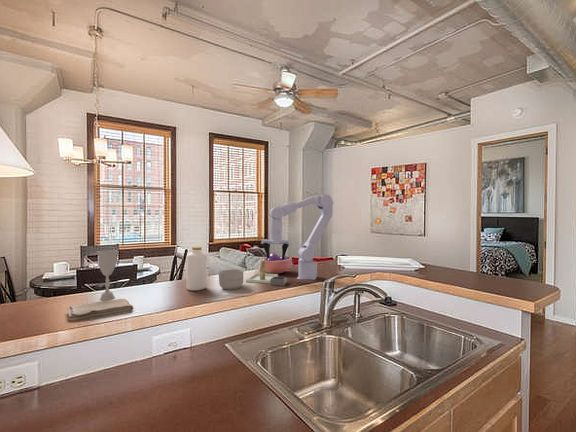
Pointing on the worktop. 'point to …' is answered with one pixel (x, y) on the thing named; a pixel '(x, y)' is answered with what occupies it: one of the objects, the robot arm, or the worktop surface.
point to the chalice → (107, 269)
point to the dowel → (262, 270)
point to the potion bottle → (196, 269)
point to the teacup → (231, 278)
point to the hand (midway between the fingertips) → (275, 258)
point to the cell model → (277, 264)
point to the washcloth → (98, 309)
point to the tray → (256, 278)
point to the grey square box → (278, 281)
